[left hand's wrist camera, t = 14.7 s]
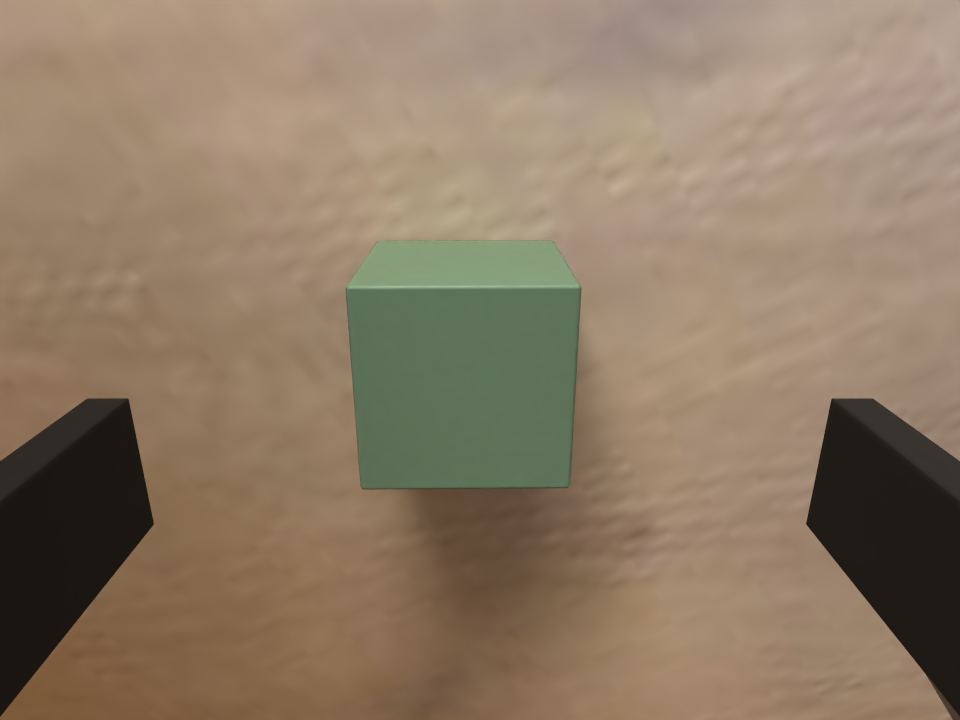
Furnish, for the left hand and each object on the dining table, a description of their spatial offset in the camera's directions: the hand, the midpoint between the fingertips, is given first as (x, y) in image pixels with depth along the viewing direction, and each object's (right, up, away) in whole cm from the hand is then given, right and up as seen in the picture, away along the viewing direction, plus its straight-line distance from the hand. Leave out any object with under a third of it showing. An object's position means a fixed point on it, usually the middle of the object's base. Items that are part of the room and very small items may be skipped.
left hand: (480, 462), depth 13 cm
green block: (0, +3, +7) cm, 8 cm away
